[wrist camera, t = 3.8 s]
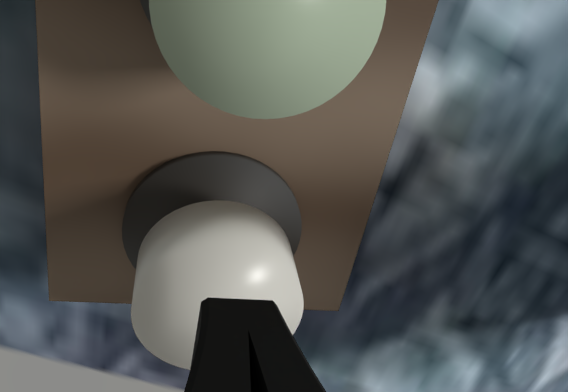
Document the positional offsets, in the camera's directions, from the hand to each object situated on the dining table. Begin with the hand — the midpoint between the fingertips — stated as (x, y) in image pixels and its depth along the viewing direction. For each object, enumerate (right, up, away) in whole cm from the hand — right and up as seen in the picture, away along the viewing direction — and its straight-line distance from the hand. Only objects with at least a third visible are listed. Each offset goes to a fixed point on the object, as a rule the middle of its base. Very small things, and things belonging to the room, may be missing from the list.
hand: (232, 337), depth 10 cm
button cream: (-1, +1, +4) cm, 4 cm away
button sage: (0, +7, 0) cm, 7 cm away
